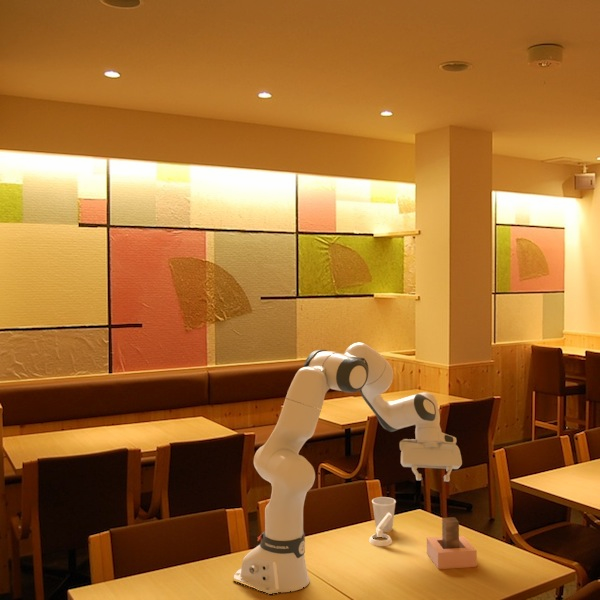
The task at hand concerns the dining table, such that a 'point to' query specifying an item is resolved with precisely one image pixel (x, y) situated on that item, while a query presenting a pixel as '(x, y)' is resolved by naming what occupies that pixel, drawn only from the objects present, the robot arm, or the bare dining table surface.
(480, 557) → the dining table surface
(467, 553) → the terracotta well
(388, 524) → the dixie cup
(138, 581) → the dining table surface
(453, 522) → the walnut block
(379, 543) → the white lever
